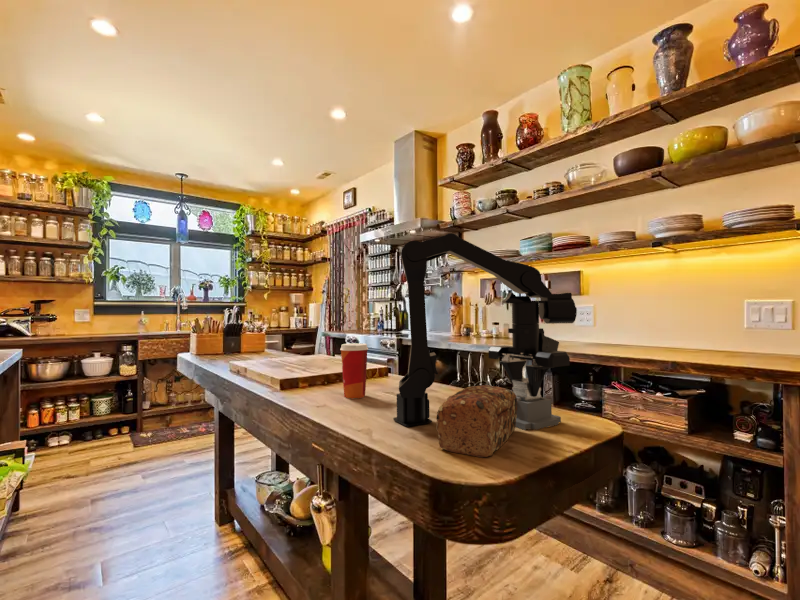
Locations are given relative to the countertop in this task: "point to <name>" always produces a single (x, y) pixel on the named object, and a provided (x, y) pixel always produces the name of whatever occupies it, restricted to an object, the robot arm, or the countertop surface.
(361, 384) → the coffee cup
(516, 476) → the countertop surface
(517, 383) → the column
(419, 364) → the robot arm
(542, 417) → the stand base
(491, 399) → the bread
